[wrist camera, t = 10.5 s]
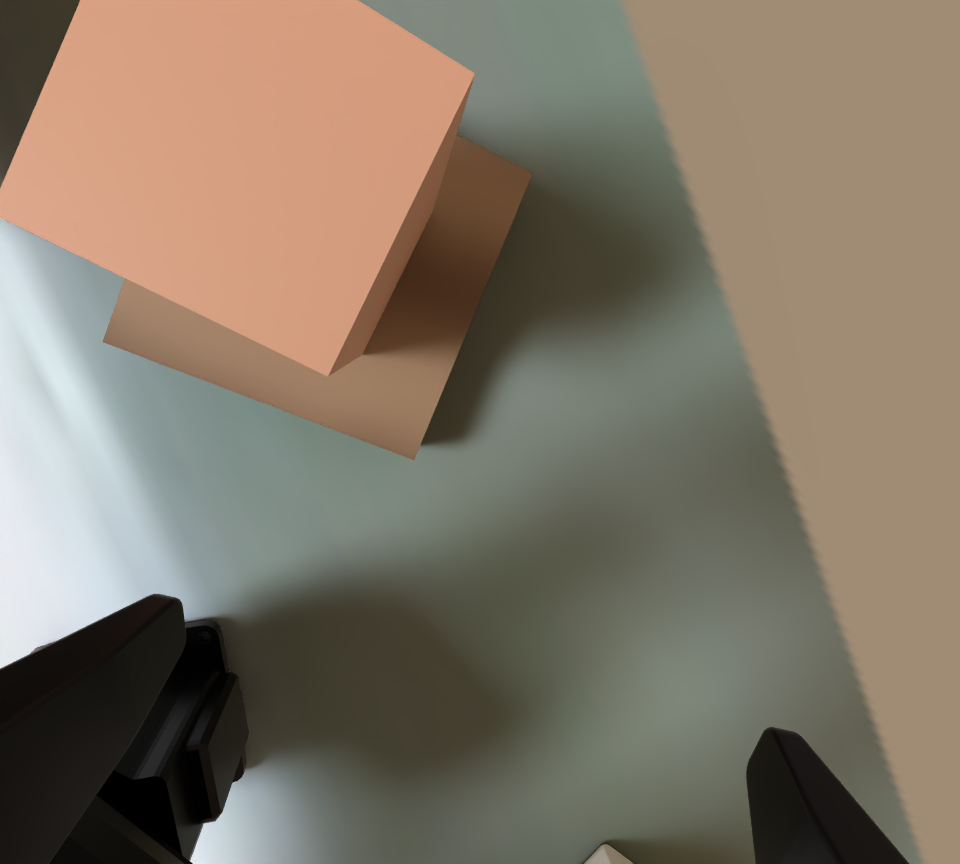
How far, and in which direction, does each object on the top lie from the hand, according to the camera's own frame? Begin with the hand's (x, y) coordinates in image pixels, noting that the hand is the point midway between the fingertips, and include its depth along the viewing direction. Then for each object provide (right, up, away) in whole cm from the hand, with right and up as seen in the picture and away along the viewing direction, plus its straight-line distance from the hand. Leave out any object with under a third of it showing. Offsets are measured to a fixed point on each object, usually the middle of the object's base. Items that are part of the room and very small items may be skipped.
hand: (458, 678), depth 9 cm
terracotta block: (-5, +9, +9) cm, 14 cm away
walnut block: (-5, +10, +12) cm, 16 cm away
